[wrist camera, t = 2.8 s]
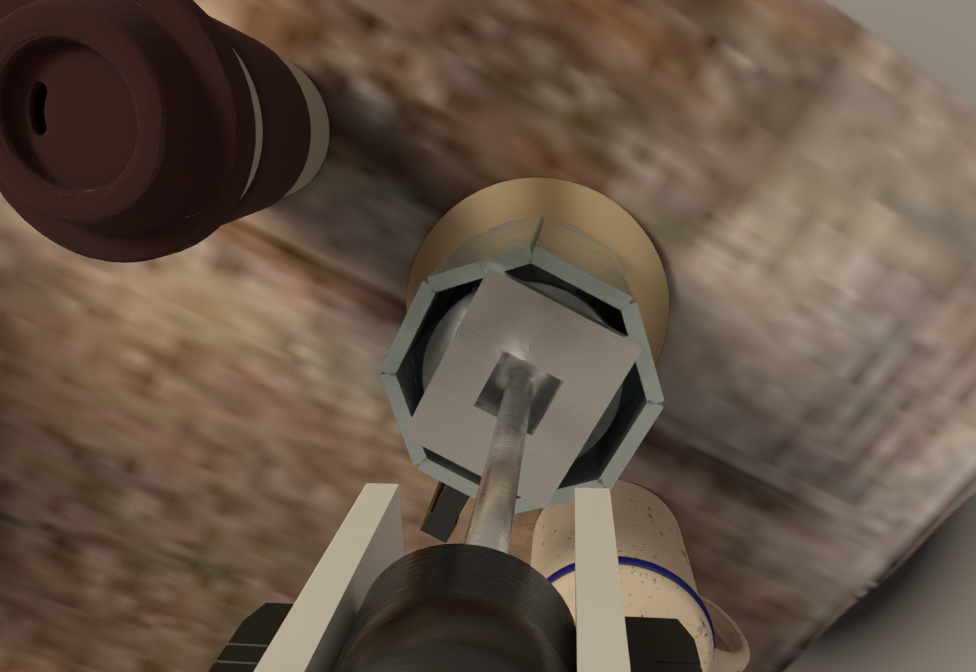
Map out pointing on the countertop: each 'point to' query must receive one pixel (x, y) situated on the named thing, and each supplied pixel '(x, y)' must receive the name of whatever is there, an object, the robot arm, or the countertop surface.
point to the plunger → (476, 551)
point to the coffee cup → (146, 124)
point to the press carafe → (536, 340)
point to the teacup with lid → (643, 571)
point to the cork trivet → (561, 205)
